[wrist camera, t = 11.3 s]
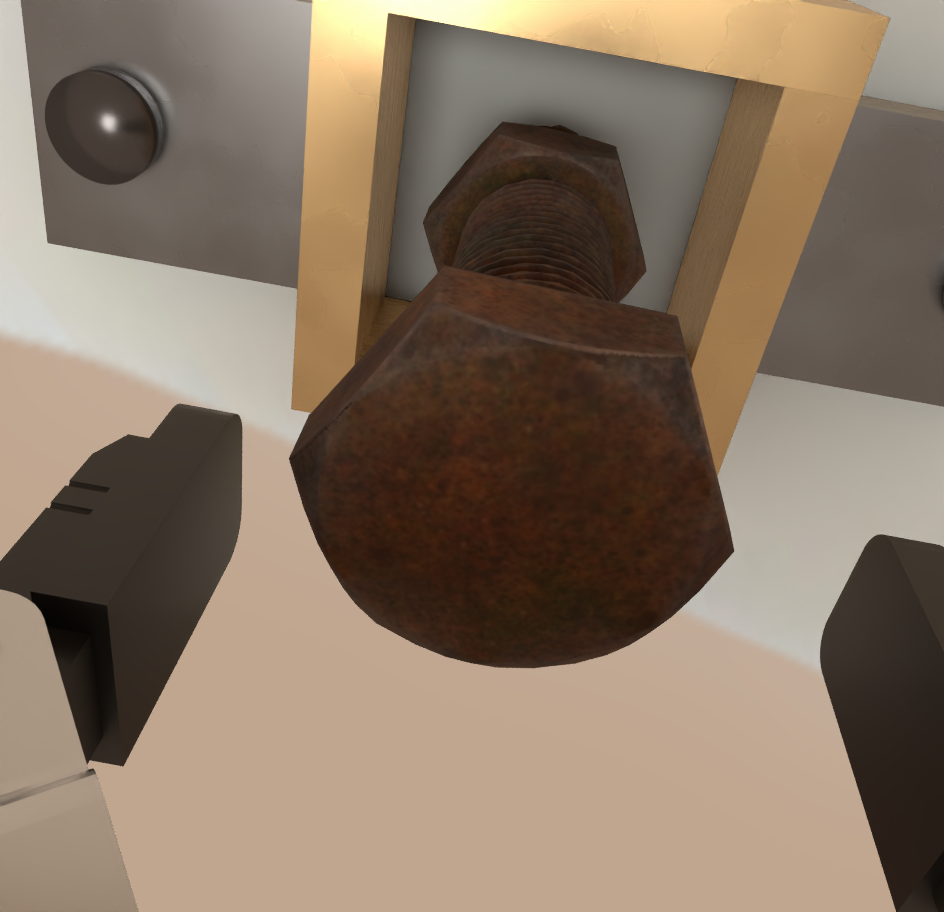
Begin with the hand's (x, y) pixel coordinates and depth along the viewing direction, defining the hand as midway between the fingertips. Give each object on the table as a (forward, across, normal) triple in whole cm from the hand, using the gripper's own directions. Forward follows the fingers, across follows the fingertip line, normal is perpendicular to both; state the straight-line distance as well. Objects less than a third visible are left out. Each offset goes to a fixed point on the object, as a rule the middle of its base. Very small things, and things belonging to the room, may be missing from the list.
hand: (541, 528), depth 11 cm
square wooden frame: (+15, 0, 0) cm, 15 cm away
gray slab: (+14, +9, 0) cm, 17 cm away
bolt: (+15, +1, 0) cm, 15 cm away
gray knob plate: (+15, -9, 0) cm, 17 cm away
